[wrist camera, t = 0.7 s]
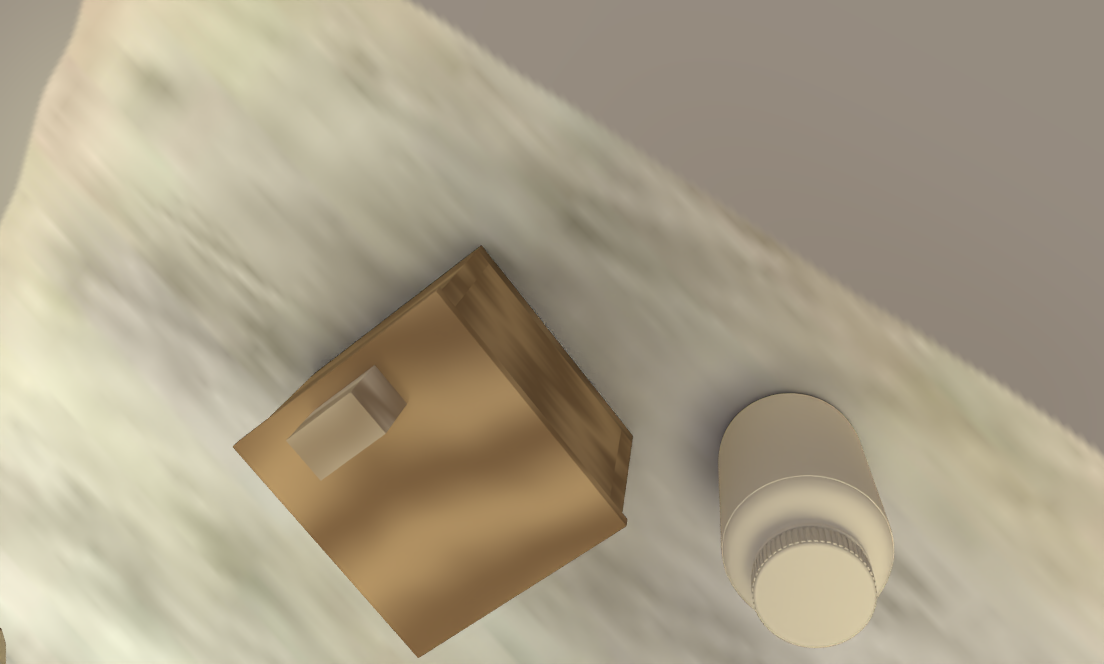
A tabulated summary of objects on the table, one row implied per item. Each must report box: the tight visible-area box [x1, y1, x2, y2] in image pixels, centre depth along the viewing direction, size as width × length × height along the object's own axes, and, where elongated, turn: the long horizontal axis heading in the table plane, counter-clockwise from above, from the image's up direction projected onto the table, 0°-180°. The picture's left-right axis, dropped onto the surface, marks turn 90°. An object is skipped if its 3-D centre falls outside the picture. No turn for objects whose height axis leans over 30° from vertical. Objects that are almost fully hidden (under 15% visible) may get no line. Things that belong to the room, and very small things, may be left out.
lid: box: [233, 287, 627, 658], centre depth 48 cm, size 14×13×4 cm
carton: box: [270, 246, 633, 512], centre depth 55 cm, size 14×13×10 cm
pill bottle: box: [718, 393, 894, 648], centre depth 51 cm, size 8×8×15 cm
